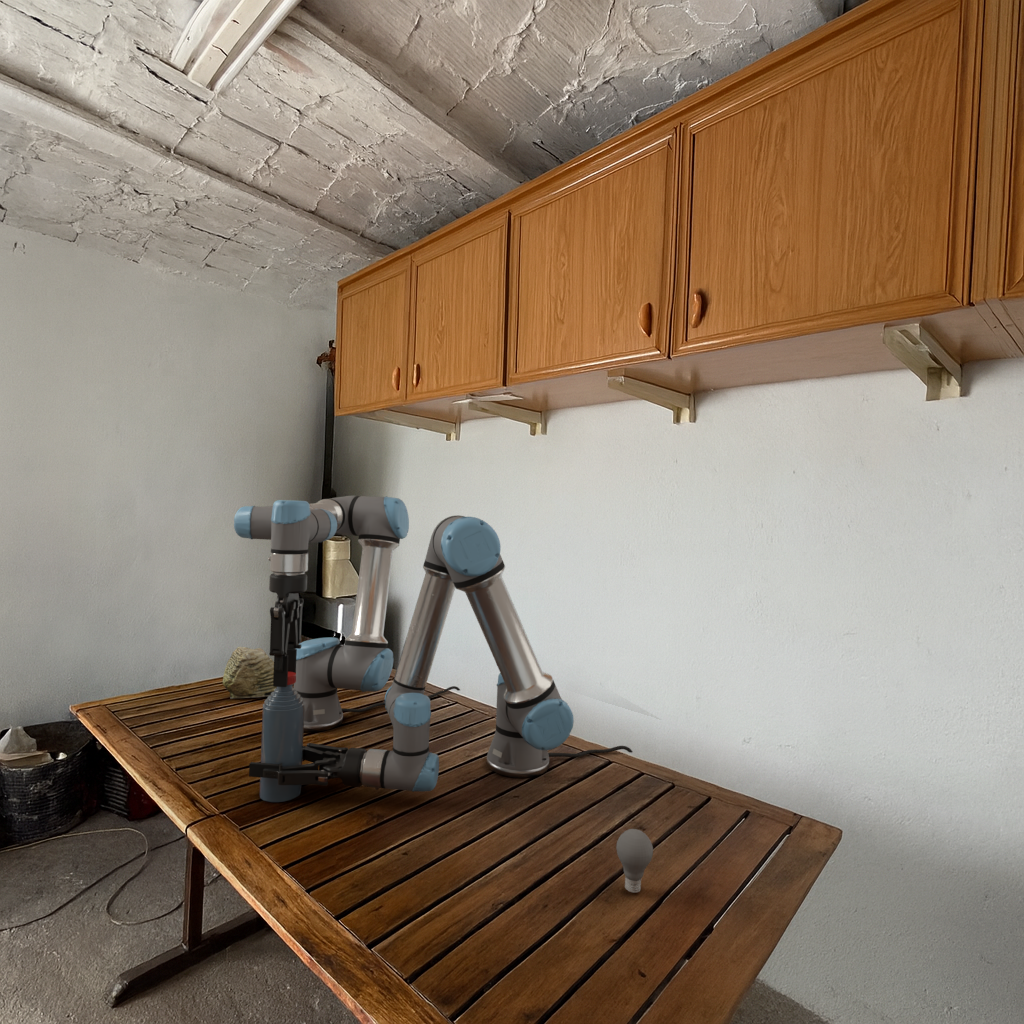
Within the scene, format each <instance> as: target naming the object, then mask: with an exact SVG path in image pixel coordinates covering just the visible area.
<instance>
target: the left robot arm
mask: <svg viewBox="0 0 1024 1024" xmlns="http://www.w3.org/2000/svg"><path fill="white" fill-rule="evenodd" d="M409 518H410V517H409V512H408V509H407V506H406V504H405V502H404V501H403V500H402V499H400V497H399V498H398V497H392V496H387V495H386V496H375V495H374V496H371V495H346V496H345V495H344V496H338V497H337V496H336V497H332V498H331V497H330V498H323V499H320V500H318V501H317V502H315V503H309V502H308V501H307V500H297V499H296V500H293V499H278V500H275V501H274V502H273V504H272V505H267V506H256V505H244V506H241V507H240V508H239V509H238V510H237V511H236V512H235V515H234V518H233V521H234V522H233V529H234V531H235V533H236V535H237V536H239V537H240V538H243V539H250V540H266V541H267V540H270V555H269V556H268V561H269V562H270V563H269V564H270V565H269V570H270V572H271V574H270V575H269V584H268V585H269V586H268V590H269V592H271V593H273V594H276V600H275V603H274V607H272V606H271V607H270V609H269V614H270V633H269V634H270V638H269V655H268V656H269V657H270V656H271V657H273V661H274V676H273V687H287V683H288V672H294V673H296V682H295V683H294V684H293V688H294V689H295V691H297V692H298V694H300V697H302V698H303V701H304V702H305V707H304V733H316V732H325V731H329V730H332V729H335V728H337V727H339V726H340V725H342V723H343V722H344V713H343V712H345V713H346V712H349V713H361V712H366V711H369V710H371V709H373V708H374V709H375V708H377V707H381V706H385V701H383V702H378V703H374V704H371V705H367V706H366V707H363V708H362V707H361V708H344V707H343V708H342V706H341V702H340V699H339V695H338V689H339V690H340V689H341V690H351V691H359V692H363V693H364V692H365V693H366V692H373V693H375V692H379V691H381V690H382V689H383V688H384V687H385V685H386V684H387V683H388V681H389V679H390V676H391V675H392V670H393V668H394V667H393V666H394V661H395V659H394V652H393V651H392V650H391V648H388V645H389V642H388V640H387V639H386V638H385V636H384V631H385V622H386V616H387V615H386V614H387V607H388V598H389V590H390V581H391V574H392V573H391V572H392V566H393V565H392V564H393V558H394V557H393V556H394V551H395V550H397V548H398V547H399V546H400V543H401V540H403V539H405V538H407V536H408V533H409V529H410V519H409ZM336 534H339V535H346V536H355V537H358V539H357V543H359V545H360V546H361V547H362V549H361V556H360V565H359V575H358V580H357V589H356V598H355V603H354V612H353V618H352V619H353V620H352V627H351V633H350V634H349V635H348V636H347V637H346V638H345V639H344V644H340V643H341V641H340V639H339V638H338V637H334V636H333V637H332V636H331V637H318V638H313V639H307V640H304V641H302V623H303V607H304V602H305V601H304V598H300V596H299V594H302V593H305V592H306V591H307V589H308V575H307V574H306V572H308V571H309V544H311V543H323V542H325V541H329V540H330V539H332V538H333V537H334V536H335V535H336ZM443 690H444V691H443ZM451 690H456V691H458V692H459V691H461V688H460V687H458V686H455V685H453V686H449V687H447V688H445V689H442V690H439V691H436V692H435V693H432V694H430V695H427V696H428V697H429V699H432V698H434V697H436V696H438V695H443V694H445V693H446V692H449V691H451Z"/></svg>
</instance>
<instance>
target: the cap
mask: <svg viewBox="0 0 1024 1024" xmlns="http://www.w3.org/2000/svg"><path fill="white" fill-rule="evenodd" d="M295 682H296V673H294V672H288V683H287V685H291V684H293V685H294V683H295Z"/></svg>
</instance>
